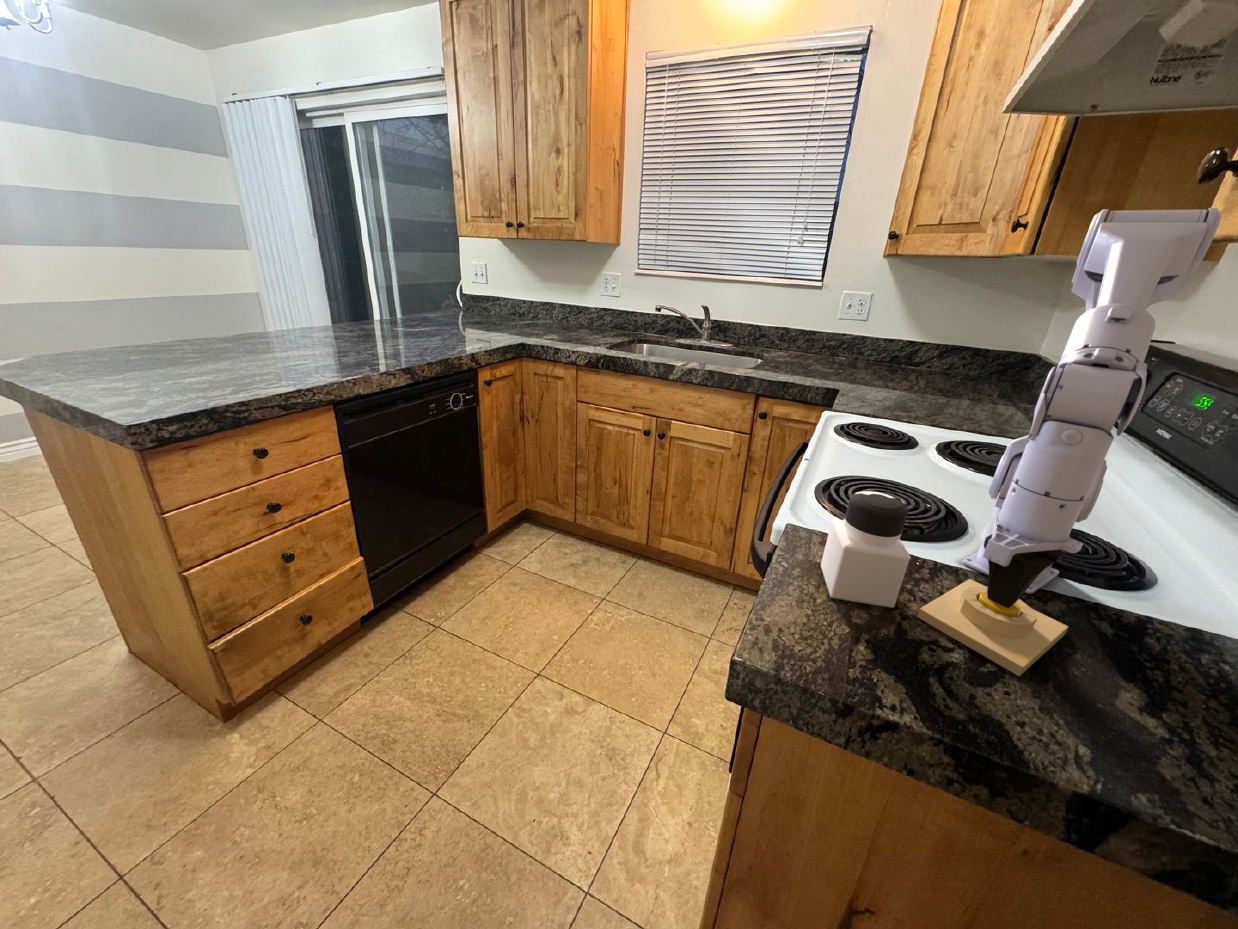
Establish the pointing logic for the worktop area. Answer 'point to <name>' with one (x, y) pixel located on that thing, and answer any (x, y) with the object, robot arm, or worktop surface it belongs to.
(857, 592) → the medicine bottle
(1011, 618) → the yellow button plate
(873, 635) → the worktop surface
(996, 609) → the button
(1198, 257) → the robot arm
